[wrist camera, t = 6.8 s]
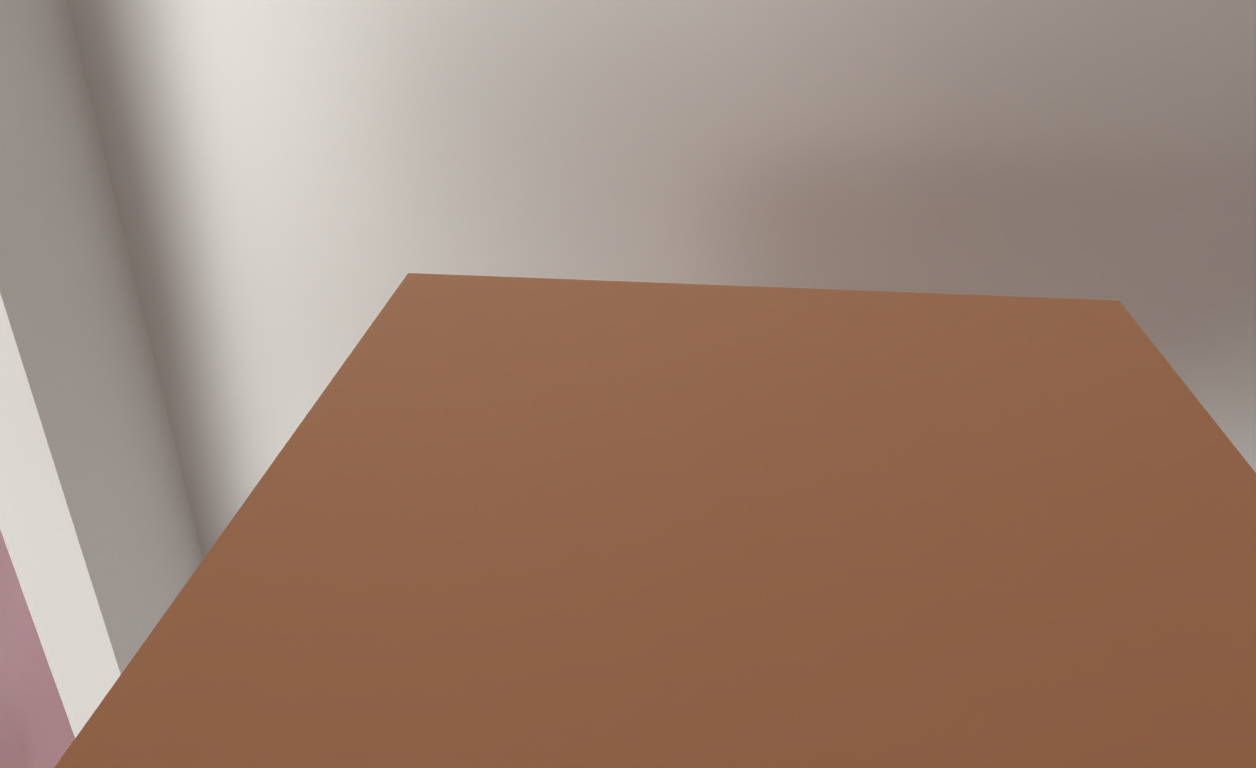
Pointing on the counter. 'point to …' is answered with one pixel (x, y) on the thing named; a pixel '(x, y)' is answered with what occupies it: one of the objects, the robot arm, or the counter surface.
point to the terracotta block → (720, 546)
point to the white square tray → (546, 212)
